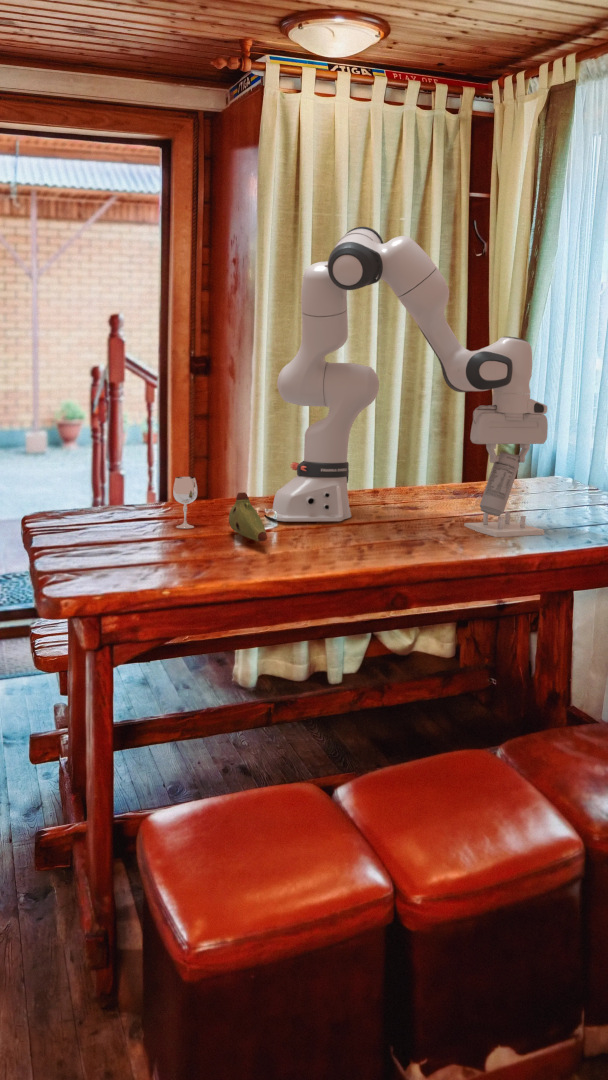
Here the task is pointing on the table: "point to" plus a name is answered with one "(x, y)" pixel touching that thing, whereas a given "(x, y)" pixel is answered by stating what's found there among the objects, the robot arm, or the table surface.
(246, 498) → the green banana
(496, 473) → the energy drink can
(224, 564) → the table surface
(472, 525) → the grey peg board
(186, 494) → the wineglass
